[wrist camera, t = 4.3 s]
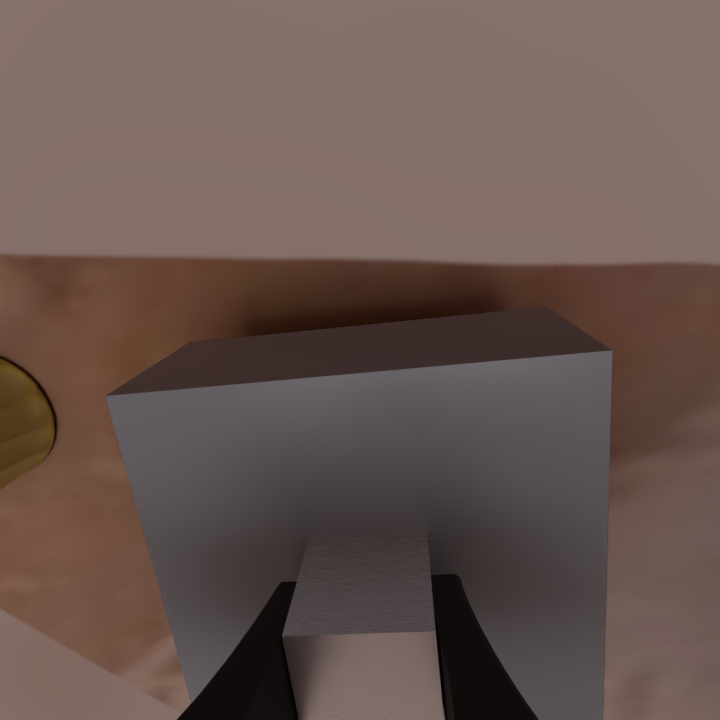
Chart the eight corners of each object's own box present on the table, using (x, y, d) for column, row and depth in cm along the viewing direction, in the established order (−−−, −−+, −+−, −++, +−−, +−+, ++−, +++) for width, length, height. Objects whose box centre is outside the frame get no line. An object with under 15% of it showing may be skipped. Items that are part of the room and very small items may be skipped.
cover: (546, 306, 15) (690, 402, 8) (550, 610, 19) (655, 887, 11) (189, 342, 17) (12, 455, 9) (251, 621, 20) (160, 878, 12)
